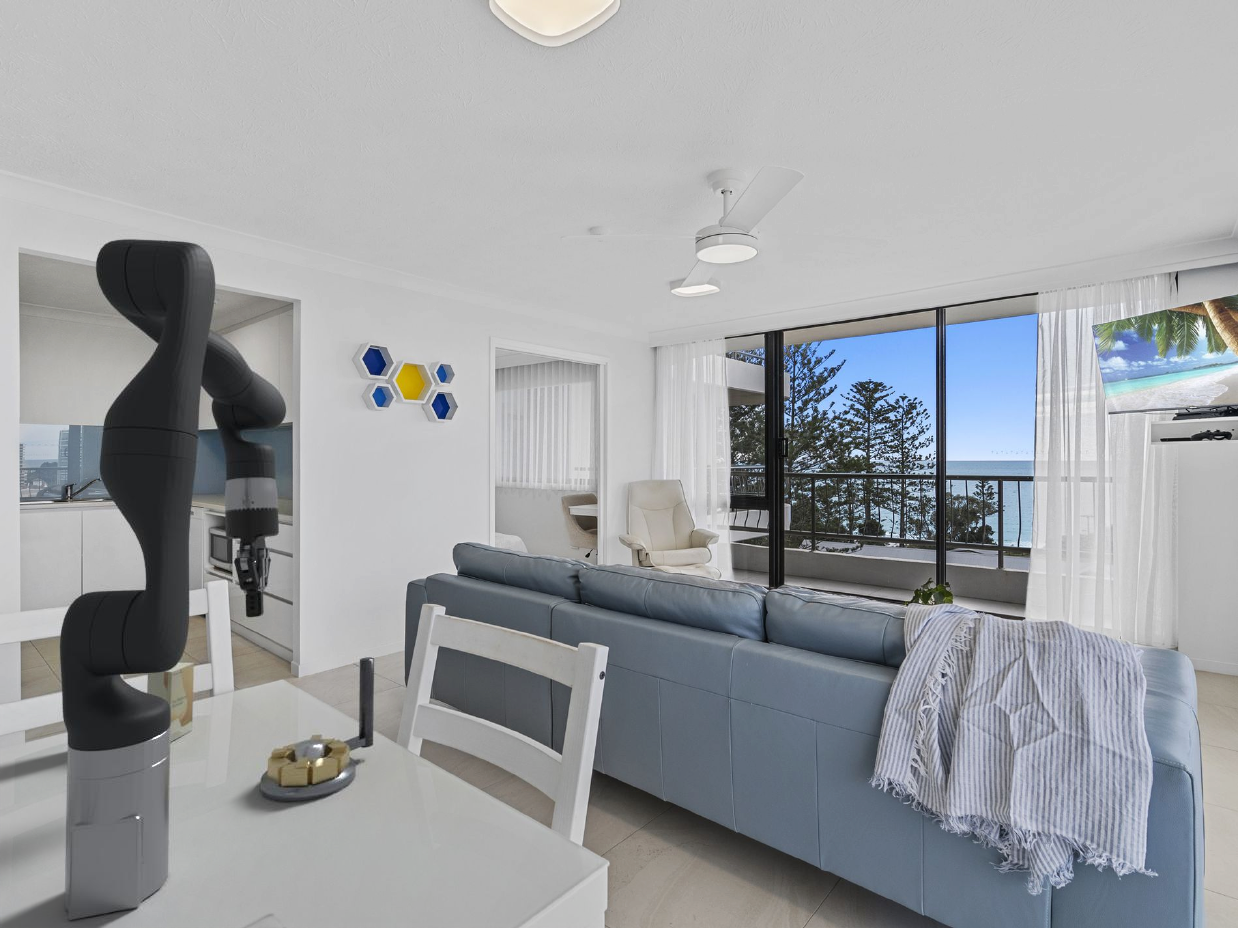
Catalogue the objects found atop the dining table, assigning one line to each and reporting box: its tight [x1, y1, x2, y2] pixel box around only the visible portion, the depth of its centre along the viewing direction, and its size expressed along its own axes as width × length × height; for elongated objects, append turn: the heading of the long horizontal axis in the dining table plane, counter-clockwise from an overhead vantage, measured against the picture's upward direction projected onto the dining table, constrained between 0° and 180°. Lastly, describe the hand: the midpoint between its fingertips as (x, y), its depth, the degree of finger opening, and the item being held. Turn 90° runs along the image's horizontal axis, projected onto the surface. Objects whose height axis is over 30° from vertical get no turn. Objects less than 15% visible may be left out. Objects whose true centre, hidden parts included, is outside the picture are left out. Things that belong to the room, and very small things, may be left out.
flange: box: [260, 738, 357, 804], centre depth 100 cm, size 13×13×6 cm
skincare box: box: [146, 662, 195, 743], centre depth 117 cm, size 6×4×12 cm
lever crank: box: [267, 656, 375, 786], centre depth 102 cm, size 16×11×14 cm, turn 138°
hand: (255, 616), depth 106 cm, fingers closed
